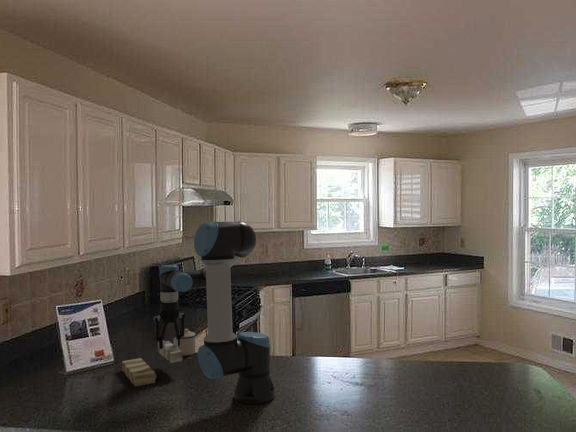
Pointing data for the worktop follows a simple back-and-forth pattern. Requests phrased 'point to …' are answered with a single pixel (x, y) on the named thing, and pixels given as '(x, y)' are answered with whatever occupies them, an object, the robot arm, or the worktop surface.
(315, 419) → the worktop surface
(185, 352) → the teacup with lid
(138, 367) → the oak floor row
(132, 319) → the worktop surface
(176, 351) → the plank
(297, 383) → the worktop surface
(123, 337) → the worktop surface
